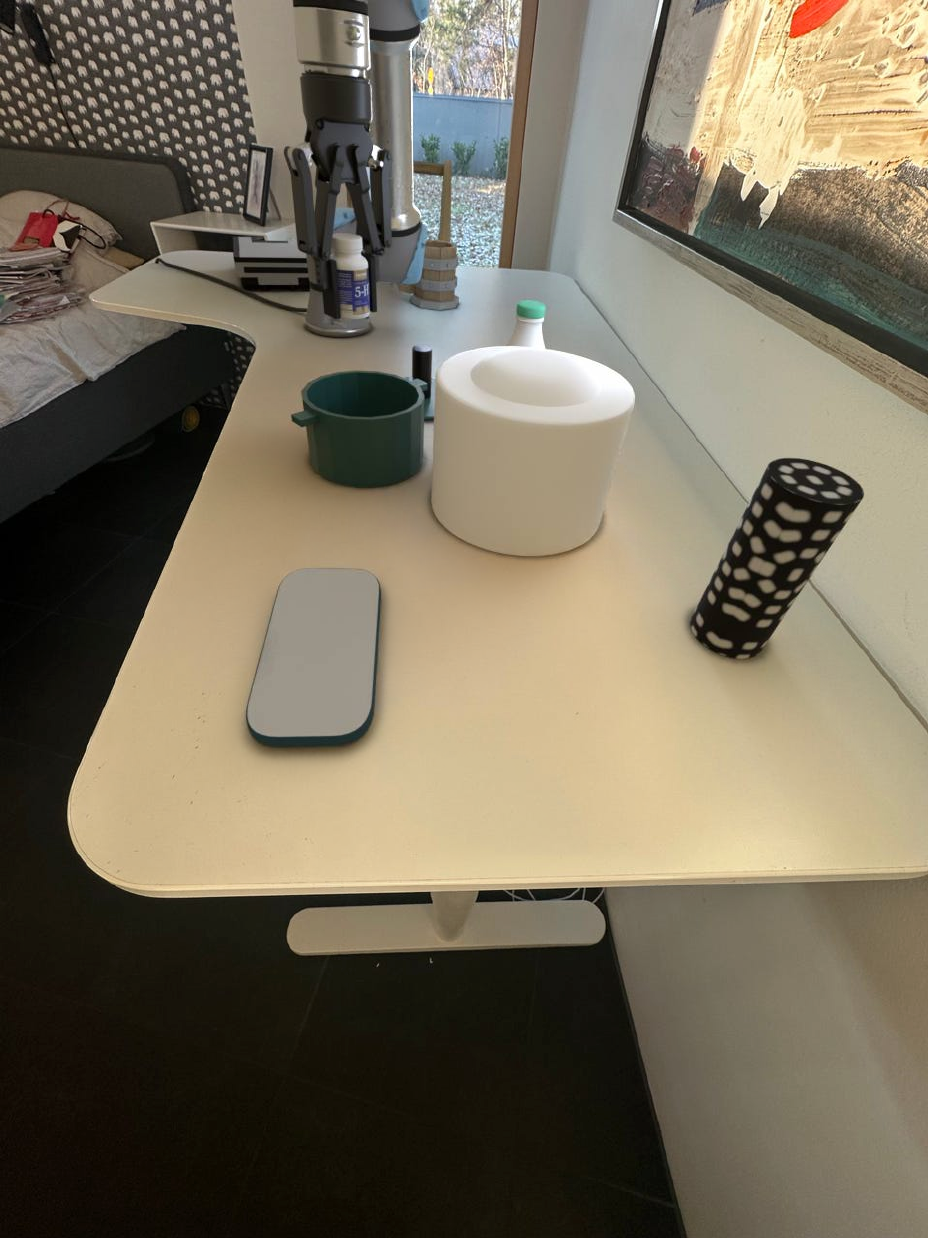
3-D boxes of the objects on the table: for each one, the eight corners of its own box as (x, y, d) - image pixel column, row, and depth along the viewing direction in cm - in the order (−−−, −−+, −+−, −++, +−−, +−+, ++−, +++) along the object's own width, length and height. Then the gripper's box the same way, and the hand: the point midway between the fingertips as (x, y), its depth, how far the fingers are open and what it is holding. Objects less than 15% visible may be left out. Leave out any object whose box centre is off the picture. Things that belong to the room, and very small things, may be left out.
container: (437, 456, 89) (442, 322, 75) (588, 468, 90) (621, 337, 76) (424, 548, 71) (428, 394, 57) (613, 563, 72) (662, 413, 58)
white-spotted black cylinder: (679, 608, 66) (751, 456, 53) (743, 607, 67) (830, 458, 53) (706, 659, 61) (795, 504, 47) (776, 658, 61) (884, 505, 48)
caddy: (449, 281, 172) (454, 157, 151) (440, 289, 164) (445, 159, 144) (361, 268, 175) (355, 145, 155) (348, 276, 168) (340, 147, 147)
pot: (273, 458, 85) (260, 390, 78) (389, 420, 98) (387, 359, 91) (339, 507, 77) (332, 436, 70) (456, 459, 89) (461, 395, 82)
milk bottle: (540, 421, 102) (560, 301, 88) (530, 438, 97) (550, 313, 83) (500, 413, 104) (514, 293, 90) (488, 429, 98) (501, 305, 84)
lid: (352, 395, 104) (348, 342, 98) (425, 375, 114) (426, 325, 108) (416, 431, 95) (417, 375, 89) (489, 406, 105) (494, 353, 99)
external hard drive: (372, 749, 49) (371, 737, 48) (240, 752, 48) (235, 739, 47) (382, 580, 66) (382, 568, 65) (285, 579, 65) (282, 566, 64)
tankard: (461, 300, 157) (464, 237, 147) (452, 312, 148) (455, 246, 138) (393, 291, 159) (392, 229, 149) (381, 302, 150) (379, 237, 139)
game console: (306, 264, 174) (303, 233, 169) (318, 292, 153) (315, 257, 147) (237, 263, 169) (232, 231, 163) (240, 292, 147) (233, 256, 142)
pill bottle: (362, 322, 72) (358, 242, 66) (325, 317, 73) (317, 237, 67) (375, 311, 76) (372, 235, 70) (339, 306, 77) (333, 230, 71)
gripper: (276, 65, 52) (308, 331, 68) (423, 81, 61) (420, 310, 78) (237, 61, 55) (276, 315, 71) (381, 77, 65) (387, 297, 81)
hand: (351, 312), depth 74 cm, fingers closed on pill bottle, 5 cm apart
